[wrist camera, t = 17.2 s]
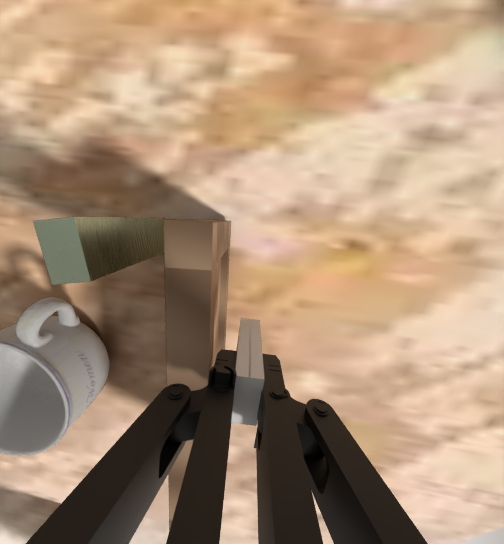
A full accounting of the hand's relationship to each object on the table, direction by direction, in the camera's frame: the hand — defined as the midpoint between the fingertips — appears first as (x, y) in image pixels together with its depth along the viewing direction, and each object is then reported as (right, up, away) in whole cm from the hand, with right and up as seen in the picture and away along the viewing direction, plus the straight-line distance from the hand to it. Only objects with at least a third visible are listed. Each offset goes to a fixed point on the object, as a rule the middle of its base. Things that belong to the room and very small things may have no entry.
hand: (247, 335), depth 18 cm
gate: (-4, -1, +7) cm, 8 cm away
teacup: (-19, -2, +8) cm, 21 cm away
